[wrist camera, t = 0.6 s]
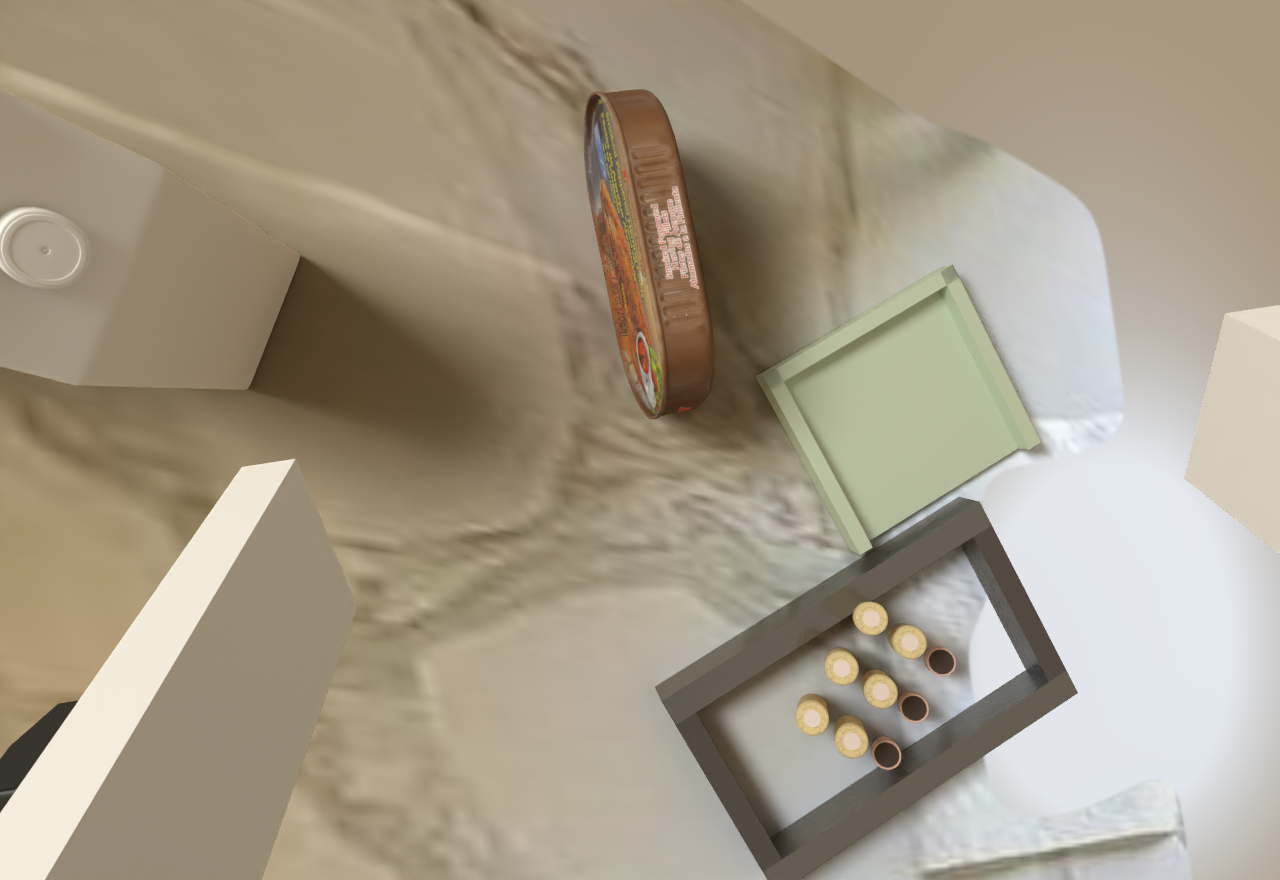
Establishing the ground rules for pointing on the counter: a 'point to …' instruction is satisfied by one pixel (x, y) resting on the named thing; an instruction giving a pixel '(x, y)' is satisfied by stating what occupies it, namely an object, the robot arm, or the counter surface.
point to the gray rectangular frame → (922, 760)
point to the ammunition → (873, 687)
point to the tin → (648, 251)
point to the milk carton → (125, 265)
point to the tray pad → (898, 407)
